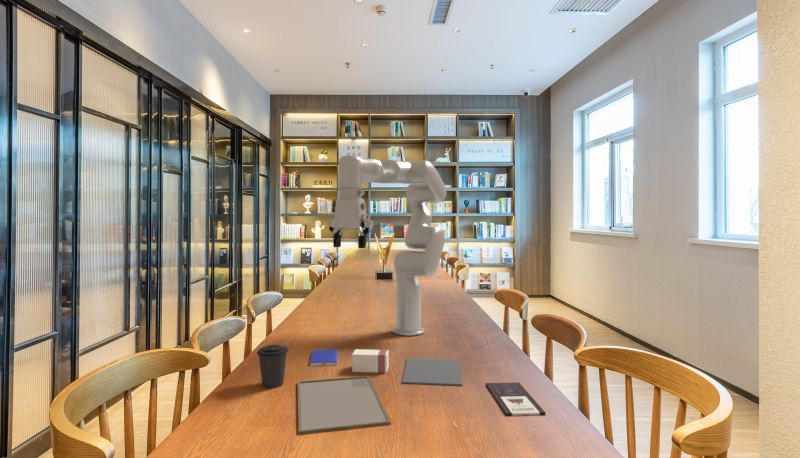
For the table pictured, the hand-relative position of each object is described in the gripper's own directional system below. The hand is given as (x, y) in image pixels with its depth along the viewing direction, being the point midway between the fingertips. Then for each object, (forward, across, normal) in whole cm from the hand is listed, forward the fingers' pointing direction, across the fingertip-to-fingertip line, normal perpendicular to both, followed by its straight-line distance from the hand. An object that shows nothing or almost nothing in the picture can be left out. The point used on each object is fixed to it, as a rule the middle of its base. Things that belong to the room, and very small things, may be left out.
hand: (349, 247), depth 140 cm
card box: (+35, -14, +8) cm, 38 cm away
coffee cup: (+36, +3, +30) cm, 47 cm away
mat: (+35, -30, +1) cm, 46 cm away
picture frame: (+36, -19, +31) cm, 51 cm away
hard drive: (+36, +4, +7) cm, 36 cm away
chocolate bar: (+35, -55, +9) cm, 66 cm away
